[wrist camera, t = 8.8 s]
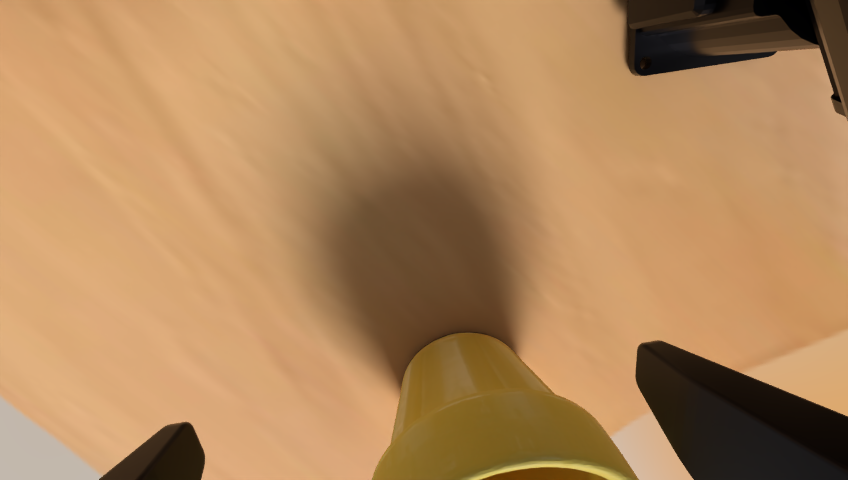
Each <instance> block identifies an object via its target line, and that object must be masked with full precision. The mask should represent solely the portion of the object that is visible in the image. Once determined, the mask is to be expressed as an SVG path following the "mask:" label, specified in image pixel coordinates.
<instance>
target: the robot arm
mask: <svg viewBox="0 0 848 480" xmlns="http://www.w3.org/2000/svg"><path fill="white" fill-rule="evenodd" d="M628 25H629V26H630V49H629V69H630V71H631V73H632V74H634V75H635V76H647V75H653V74H660V73H666V72H673V71H679V70H686V69H692V68H699V67H705V66H712V65H718V64H725V63H731V62H738V61H744V60H751V59H757V58H764V57H769V56H772V55H774V54H775V53H776V52H777V51H787V50H801V49H815V48H820V50H821V53H822V56H823V60H824V63H825V66H826V69H827V72H828V76H829V79H830V82H831V85H832V88H833V91H834V94H833V95H832V96H831V100H832V103H833V106H834V109H835V111H836V113H839V114H841V115H843V116H845V117H846V118H847V121H848V0H628ZM643 57H644V58H645V60H646V64H645V67H644V68H643V69H642V68H641V67H640V61H641V59H642V58H643ZM636 382H637V385H638V387H639V389H640V391H641V393H642V395H643V396H644V398H645V400H646V402H647V403H648V405H649V407H650V409H651V410H652V412H653V414H654V416H655V417H656V419H657V421H658V423H659V425H660V426H661V428H662V430H663V431H664V433H665V435H666V437H667V439H668V440H669V442H670V444H671V445H672V447H673V449H674V451H675V452H676V454H677V456H678V457H679V459H680V460H681V462H682V463H683V465H684V466H685V468H686V469H687V471H688V472H689V474H690V475H691V476H692V478H693V479H694V480H848V416H845V415H843V414H840V413H838V412H836V411H833V410H831V409H828V408H825V407H823V406H821V405H818V404H816V403H813V402H811V401H808V400H806V399H804V398H801V397H798V396H796V395H794V394H791V393H789V392H786V391H784V390H781V389H779V388H776V387H774V386H772V385H769V384H767V383H764V382H762V381H759V380H757V379H754V378H752V377H749V376H747V375H744V374H742V373H739V372H737V371H735V370H732V369H730V368H727V367H725V366H722V365H720V364H717V363H715V362H712V361H710V360H707V359H705V358H703V357H700V356H698V355H695V354H693V353H690V352H688V351H685V350H683V349H680V348H678V347H675V346H673V345H671V344H668V343H666V342H663V341H651V342H645V343H642V344H640V345H639V346H638V349H637V361H636ZM204 465H205V454H204V451H203V448H202V446H201V444H200V441H199V439H198V437H197V434H196V432H195V430H194V428H193V426H192V425H191V424H190V423H189V422H182V423H176V424H170V425H167V426H165V427H163V428H162V429H161V430H160V431H158V432H157V433H156V434H155V435H153V436H152V437H151V438H150V439H148V440H147V441H146V442H145V443H143V444H142V445H141V446H140V447H138V448H137V449H136V450H135V451H134V452H132V453H131V454H130V455H129V456H127V457H126V458H125V459H124V460H122V461H121V462H120V463H119V464H117V465H116V466H115V467H114V468H112V469H111V470H110V471H109V472H107V473H106V474H105V475H104V476H103V477H101V478H100V479H99V480H201V478H202V473H203V469H204Z"/></svg>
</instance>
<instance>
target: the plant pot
mask: <svg viewBox="0 0 848 480" xmlns="http://www.w3.org/2000/svg"><path fill="white" fill-rule="evenodd" d="M372 480H639V479H638V478H637V476H636V475H635V473H634V472H633V470H632V469H631V467H630V466H629V464H628V463H627V461H626V460H625V458H624V457H623V455H622V454H621V452H620V451H619V449H618V448H617V446H616V445H615V444H614V443H613V441H612V440H611V438H610V437H609V435H608V434H607V433H606V431H605V430H604V429H603V427H602V426H601V425H600V424H599V422H598V421H597V420H596V419H595V418H594V417H593V416H592V415H591V414H590V413H588V412H587V411H586V410H585V409H583V408H582V407H580V406H579V405H577V404H576V403H574V402H572V401H570V400H568V399H566V398H563V397H561V396H558V395H555V394H554V393H553V392H552V391H551V390H550V389H549V388H548V387H547V386H546V385H545V384H544V382H543V381H542V380H541V379H540V378H539V377H538V376H537V375H536V374H535V373H534V372H533V371H532V370H531V369H530V368H529V367H528V366H527V365H526V364H525V363H524V362H523V361H522V360H521V359H520V358H519V357H518V356H517V355H516V354H515V353H514V352H513V351H512V350H511V349H510V348H509V347H508V346H507V345H506V344H504V343H503V342H501V341H500V340H498V339H496V338H494V337H491V336H488V335H485V334H479V333H456V334H451V335H447V336H445V337H442V338H440V339H437V340H435V341H433V342H431V343H430V344H428V345H427V346H425V347H424V348H423V349H422V350H420V351H419V352H418V353H417V354H416V355H415V357H414V358H413V359H412V360H411V362H410V363H409V365H408V367H407V369H406V371H405V374H404V377H403V382H402V387H401V393H400V399H399V404H398V409H397V414H396V419H395V424H394V430H393V435H392V440H391V444H390V446H389V447H388V448H387V450H386V451H385V453H384V454H383V456H382V457H381V459H380V461H379V463H378V465H377V467H376V469H375V472H374V475H373V478H372Z"/></svg>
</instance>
